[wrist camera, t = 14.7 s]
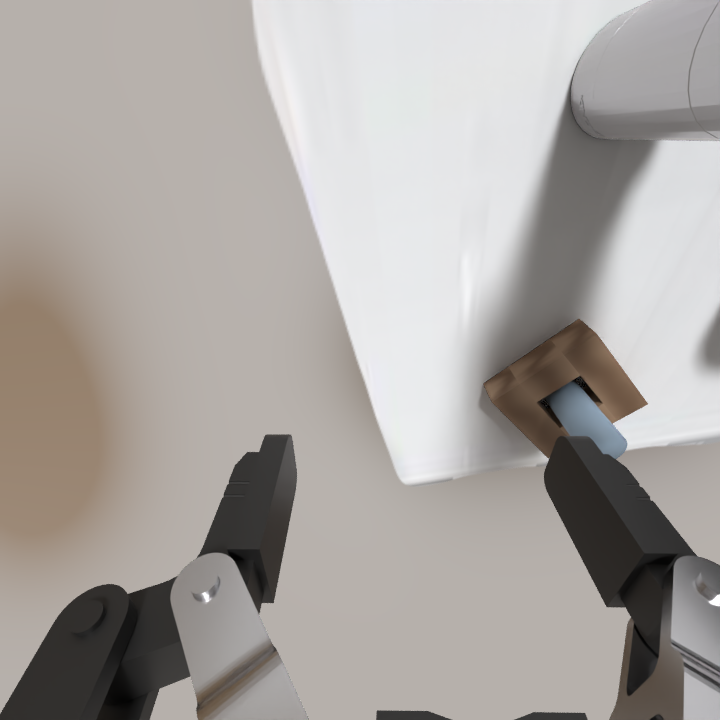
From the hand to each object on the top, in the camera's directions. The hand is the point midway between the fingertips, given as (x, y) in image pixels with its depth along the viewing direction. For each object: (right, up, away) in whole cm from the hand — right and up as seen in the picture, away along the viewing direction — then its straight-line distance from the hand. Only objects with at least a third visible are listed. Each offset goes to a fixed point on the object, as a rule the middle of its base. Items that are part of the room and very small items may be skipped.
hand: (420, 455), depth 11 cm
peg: (+25, 0, +38) cm, 46 cm away
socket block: (+25, 0, +38) cm, 46 cm away
